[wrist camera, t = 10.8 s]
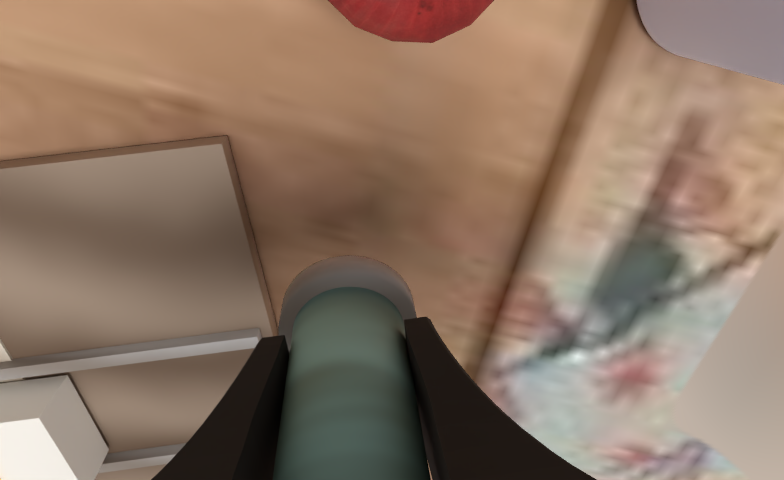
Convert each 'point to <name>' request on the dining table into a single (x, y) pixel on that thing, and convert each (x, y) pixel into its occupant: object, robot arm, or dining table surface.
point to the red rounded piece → (411, 17)
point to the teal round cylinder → (349, 376)
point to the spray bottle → (721, 33)
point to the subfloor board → (131, 288)
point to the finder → (47, 432)
